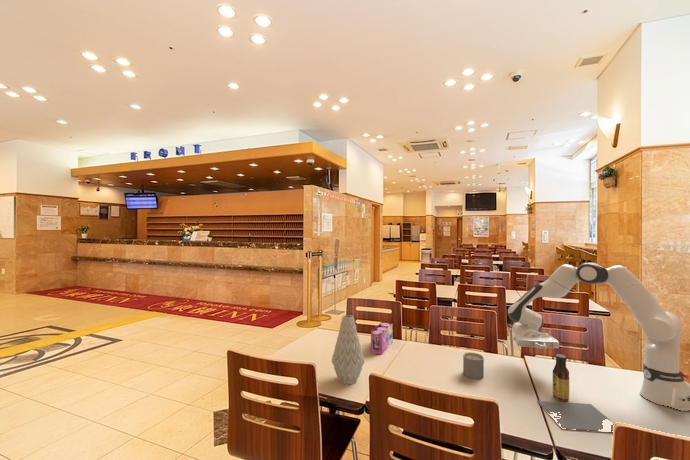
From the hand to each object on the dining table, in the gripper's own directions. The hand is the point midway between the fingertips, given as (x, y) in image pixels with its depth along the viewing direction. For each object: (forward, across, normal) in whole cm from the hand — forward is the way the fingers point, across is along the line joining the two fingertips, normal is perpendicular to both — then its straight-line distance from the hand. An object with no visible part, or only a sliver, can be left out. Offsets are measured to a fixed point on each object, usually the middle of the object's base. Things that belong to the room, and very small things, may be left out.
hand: (543, 347), depth 155 cm
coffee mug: (-6, -32, +18) cm, 37 cm away
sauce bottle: (+15, 0, +18) cm, 23 cm away
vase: (+9, -98, +18) cm, 100 cm away
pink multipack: (-37, -81, +19) cm, 91 cm away
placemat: (+28, -1, +17) cm, 33 cm away
